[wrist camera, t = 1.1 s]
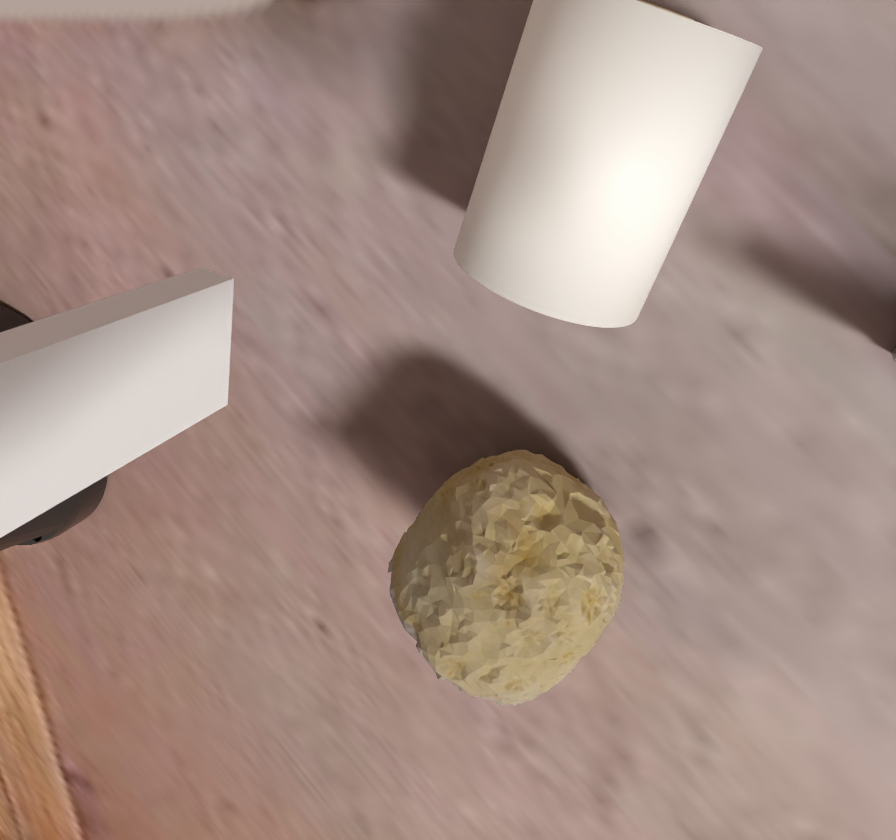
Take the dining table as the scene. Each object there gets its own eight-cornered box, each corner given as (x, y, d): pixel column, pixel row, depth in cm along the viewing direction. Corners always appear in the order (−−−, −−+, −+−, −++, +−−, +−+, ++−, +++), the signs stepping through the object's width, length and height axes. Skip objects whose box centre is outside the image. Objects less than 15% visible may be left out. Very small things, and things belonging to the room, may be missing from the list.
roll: (639, 290, 30) (633, 352, 24) (476, 227, 31) (429, 273, 25) (752, 43, 26) (779, 45, 20) (559, -25, 26) (526, -43, 20)
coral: (311, 593, 33) (389, 532, 25) (460, 464, 39) (564, 380, 31) (453, 764, 33) (580, 759, 25) (582, 608, 39) (721, 562, 30)
